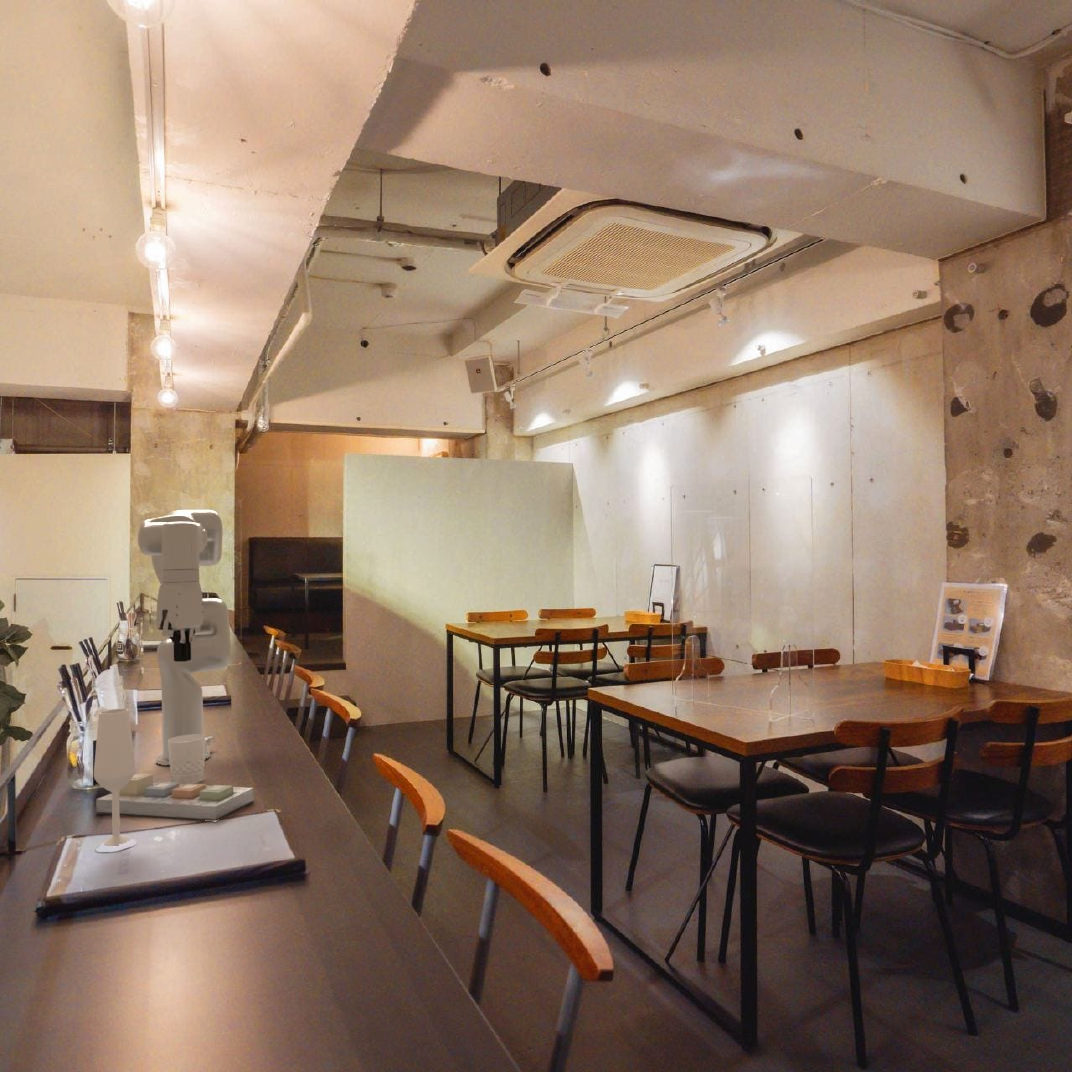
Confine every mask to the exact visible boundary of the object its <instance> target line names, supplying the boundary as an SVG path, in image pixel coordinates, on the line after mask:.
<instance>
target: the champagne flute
mask: <svg viewBox="0 0 1072 1072" xmlns="http://www.w3.org/2000/svg"><path fill="white" fill-rule="evenodd" d="M130 717H131V716H130V709H129V708H112V709H107V710H106V709H105V710H102V711H100V712H98V720H97V733H96V744H95V754H94V755H95V757H94V767H93V779H94V780H95V781H96V783H97V784H98V785H99V786H101V787H102V788H104V789H105V790H106V791H109V792H110V793H112V815H111V823H112V825H111V829H112V830H111V831H112V834H111V836H110V837H109V838H107V839H105V840H104V841H105V842H104V841H103V842H104V845H105V846H119V844H123V843H126V842H127V841H130V840H131V839H132V838H131V837H129V836H125V835H123V834H121V827H120V826H121V823H120V821H121V820H120V817H121V816H120V814H119V791H120V790H121V789H122V788H124V787H125V786H126V785H127V784H128V783H129V781H130V780H131V779H132V778H133V776H134V774H135V773H136V772H137V768H136V767H137V765H136V758H135V749H134V743H133V742H134V741H133V735H132V726H131V718H130ZM130 838H131V839H130Z"/></svg>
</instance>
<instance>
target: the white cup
mask: <svg viewBox="0 0 1072 1072" xmlns="http://www.w3.org/2000/svg"><path fill="white" fill-rule="evenodd" d="M205 738H206V735H204V734H203V735H200V734H191V735H182V736H177V737H173V738H171V739H169V740H168V750H169V763H170V766H169V771H170V783H179V784H187V783H189V784H200V783H202V782H203V781H204V778H205V776H204V774H205V765H206V764H205V761H206V759H205V748H206V747H205Z"/></svg>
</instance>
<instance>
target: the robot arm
mask: <svg viewBox="0 0 1072 1072" xmlns="http://www.w3.org/2000/svg"><path fill="white" fill-rule="evenodd" d="M223 529H224V528H223V524H222V519H221V516H220V515H219V514H218V512H216V511H215V510H211V509H177V510H173V511H170V512H167V514H165V515H164V516H160V517H156V518H155V517H153V518H149V519H145V520H143V521H142V522H141V524H140V526H139V529H138V532H137V544H138V548H139V550H140V552H141V553H142V554H143V555H145V556H150V557H151V563H152V567H153V570H154V573H155V575H156V577H157V579H158V582H159V584H160V586H159V589H158V594H157V602H156V603H157V604H156V615H155V617H156V618H155V620H156V628H157V630H159V631H162V633H161V634H162V637H167V638H165V639H163V640H161V642H159V644H158V646H157V649H156V657H157V662H158V663H157V664H158V668H159V669H158V670H159V674H160V675H159V676H160V686H161V687H160V688H161V718H162V719H161V722H162V723H161V724H162V728H161V729H162V731H161V732H162V754H160V755H158V756H157V757H156V759H155V762H156V764H157V763H158V765H159V764H161V765H160V766H167V765H170V763H169V750H168V740H169V739H171V738H173V737H177V736H182V735H191V734H200V735H204V703H203V700H204V698H203V696H204V695H203V689H202V686H201V684H200V682H198V681H197V680H196V678H194V676H192V675H191V674H194V673H201V672H202V673H203V672H210V671H220V670H224V669H226V668H228V666H230V663H231V660H232V645H231V644H232V642H231V641H232V640H231V632H230V631H231V629H230V616H229V609H228V607H227V603H226V602H225V601H224V600H223V599H221V598H215V597H209V598H203V593H202V592H203V591H202V587H201V582H200V567H211V566H215V565H217V564H219V562H220V561H221V559H222V555H223ZM213 743H215V737H214V736H212V735H210V736H208V737H205V760H207V759H209V758H210V757H211V751H210V750H208V749H206V747H207V746H209V745H211V744H213ZM206 758H207V759H206Z"/></svg>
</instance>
